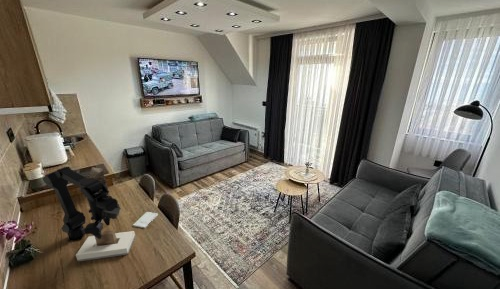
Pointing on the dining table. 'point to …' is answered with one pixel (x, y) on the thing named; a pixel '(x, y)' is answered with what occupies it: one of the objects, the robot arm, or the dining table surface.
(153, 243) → the dining table surface
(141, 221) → the external hard drive
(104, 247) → the slotted board
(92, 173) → the owl
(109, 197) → the robot arm
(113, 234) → the walnut plate
